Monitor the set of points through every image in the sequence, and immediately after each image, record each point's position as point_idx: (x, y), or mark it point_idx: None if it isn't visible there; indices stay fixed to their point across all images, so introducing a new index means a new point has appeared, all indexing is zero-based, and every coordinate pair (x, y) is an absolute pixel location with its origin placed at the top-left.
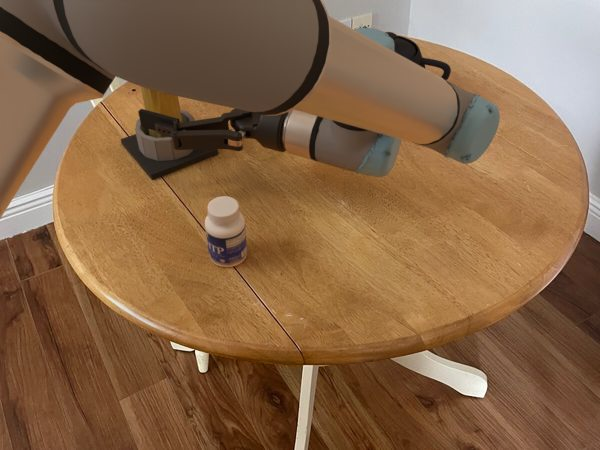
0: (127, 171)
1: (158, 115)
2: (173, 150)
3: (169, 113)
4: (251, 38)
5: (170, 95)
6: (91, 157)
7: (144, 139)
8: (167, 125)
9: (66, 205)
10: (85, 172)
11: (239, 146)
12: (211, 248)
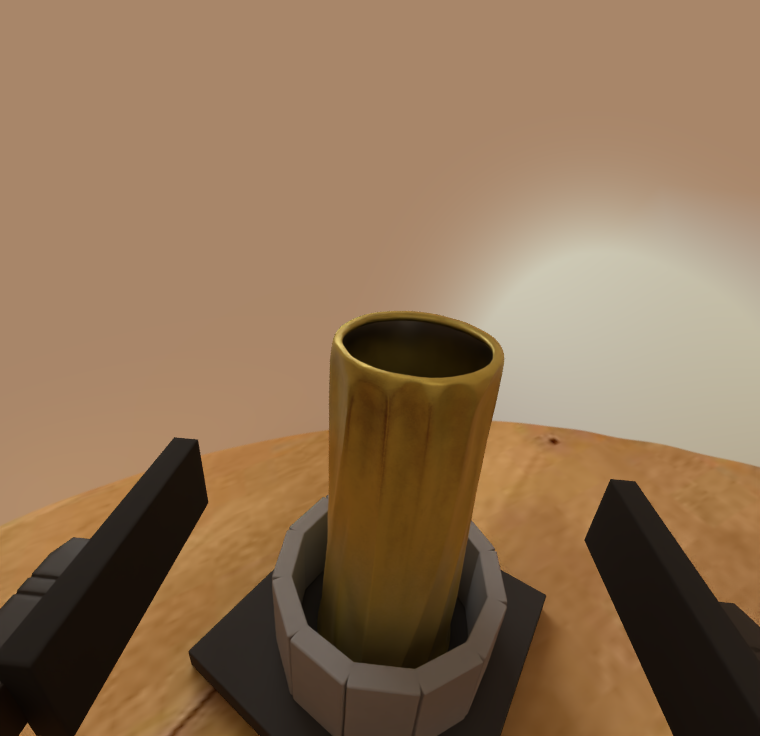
0: (238, 566)
1: (118, 521)
2: (292, 673)
3: (357, 554)
4: None
5: (381, 499)
6: (287, 470)
7: (283, 542)
8: (27, 614)
9: (88, 501)
10: (226, 483)
11: None
12: None
